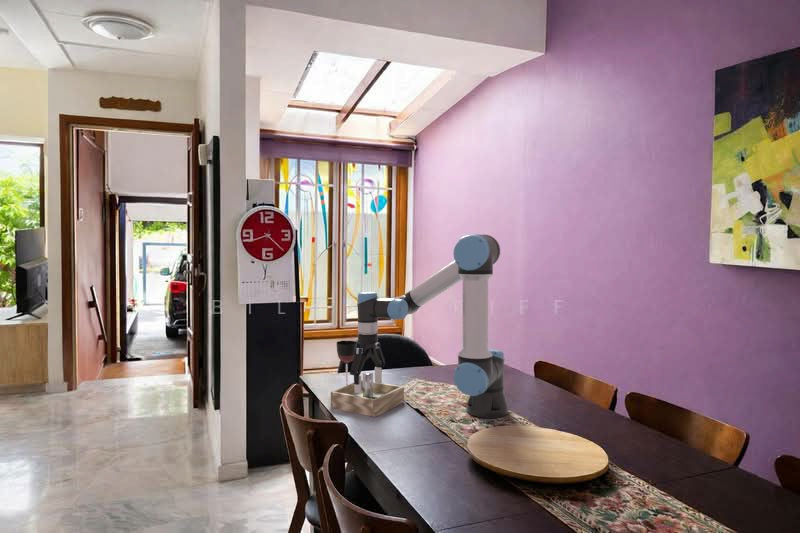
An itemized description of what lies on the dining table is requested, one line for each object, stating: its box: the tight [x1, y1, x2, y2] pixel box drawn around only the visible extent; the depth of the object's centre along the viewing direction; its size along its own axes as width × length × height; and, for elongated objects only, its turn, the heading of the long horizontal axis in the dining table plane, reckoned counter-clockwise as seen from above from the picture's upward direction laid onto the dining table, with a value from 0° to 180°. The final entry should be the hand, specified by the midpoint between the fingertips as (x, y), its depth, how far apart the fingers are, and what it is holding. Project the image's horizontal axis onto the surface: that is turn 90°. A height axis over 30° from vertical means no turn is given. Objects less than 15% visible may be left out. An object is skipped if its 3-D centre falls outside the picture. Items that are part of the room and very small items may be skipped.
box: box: [330, 379, 405, 418], centre depth 201 cm, size 20×20×6 cm
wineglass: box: [336, 340, 358, 386], centre depth 221 cm, size 8×9×20 cm
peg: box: [362, 371, 374, 399], centre depth 201 cm, size 4×4×12 cm
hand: (368, 388), depth 201 cm, fingers open, 13 cm apart
